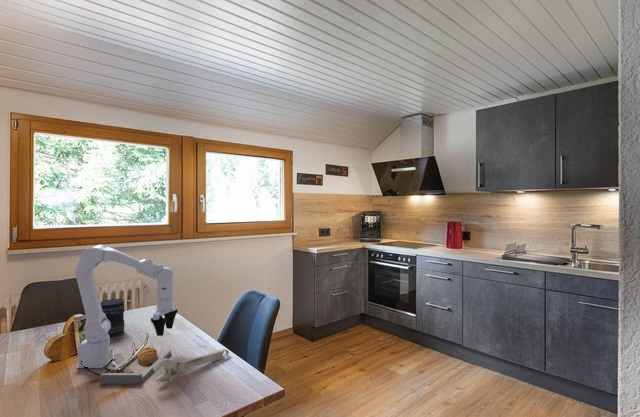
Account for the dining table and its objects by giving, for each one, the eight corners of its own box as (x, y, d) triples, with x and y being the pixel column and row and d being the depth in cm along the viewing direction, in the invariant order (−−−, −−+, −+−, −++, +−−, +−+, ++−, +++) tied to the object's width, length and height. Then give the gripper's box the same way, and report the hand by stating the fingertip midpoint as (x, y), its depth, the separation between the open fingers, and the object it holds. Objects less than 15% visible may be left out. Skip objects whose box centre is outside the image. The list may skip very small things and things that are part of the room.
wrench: (228, 363, 132) (153, 388, 107) (225, 362, 133) (150, 386, 108) (229, 342, 132) (156, 362, 108) (226, 341, 133) (153, 361, 109)
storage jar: (94, 336, 152) (94, 303, 152) (114, 328, 161) (114, 297, 161) (109, 339, 148) (109, 305, 148) (129, 331, 157) (129, 300, 157)
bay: (100, 383, 111) (100, 374, 111) (137, 353, 133) (137, 346, 133) (140, 384, 111) (140, 375, 111) (170, 353, 133) (170, 346, 133)
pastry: (159, 363, 126) (158, 353, 126) (138, 368, 122) (138, 358, 122) (156, 354, 134) (156, 344, 134) (137, 358, 130) (136, 348, 130)
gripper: (166, 303, 126) (166, 339, 126) (182, 293, 140) (182, 325, 140) (147, 302, 126) (147, 338, 126) (166, 293, 140) (165, 325, 140)
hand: (164, 331), depth 133 cm, fingers open, 7 cm apart
